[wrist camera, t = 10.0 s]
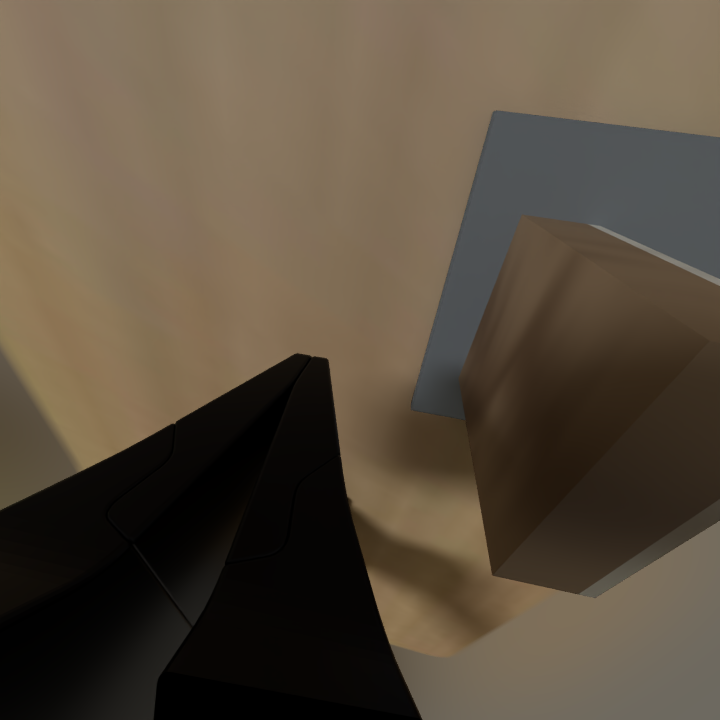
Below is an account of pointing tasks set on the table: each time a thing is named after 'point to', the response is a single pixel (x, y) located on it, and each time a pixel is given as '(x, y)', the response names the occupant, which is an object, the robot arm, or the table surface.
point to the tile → (593, 407)
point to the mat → (568, 215)
